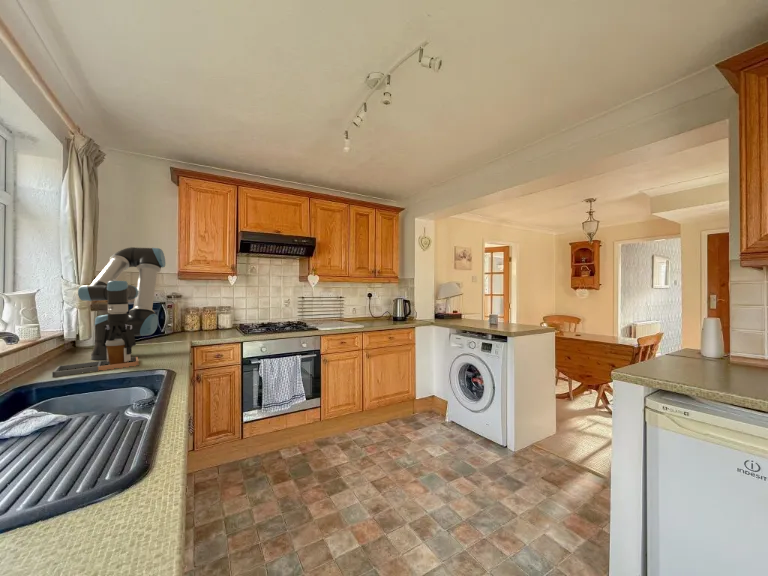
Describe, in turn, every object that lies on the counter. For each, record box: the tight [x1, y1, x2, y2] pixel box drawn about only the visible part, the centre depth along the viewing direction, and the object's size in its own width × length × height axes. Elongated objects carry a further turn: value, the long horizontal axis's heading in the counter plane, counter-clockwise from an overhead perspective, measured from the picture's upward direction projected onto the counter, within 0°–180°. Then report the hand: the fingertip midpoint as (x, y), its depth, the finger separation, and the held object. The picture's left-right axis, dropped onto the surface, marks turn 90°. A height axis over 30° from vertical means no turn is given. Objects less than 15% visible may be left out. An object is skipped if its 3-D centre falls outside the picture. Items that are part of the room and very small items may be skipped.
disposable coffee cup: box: [105, 339, 129, 365], centre depth 151 cm, size 10×10×12 cm
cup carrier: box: [52, 356, 140, 378], centre depth 147 cm, size 15×28×2 cm, turn 129°
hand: (118, 361), depth 151 cm, fingers closed on disposable coffee cup, 8 cm apart
